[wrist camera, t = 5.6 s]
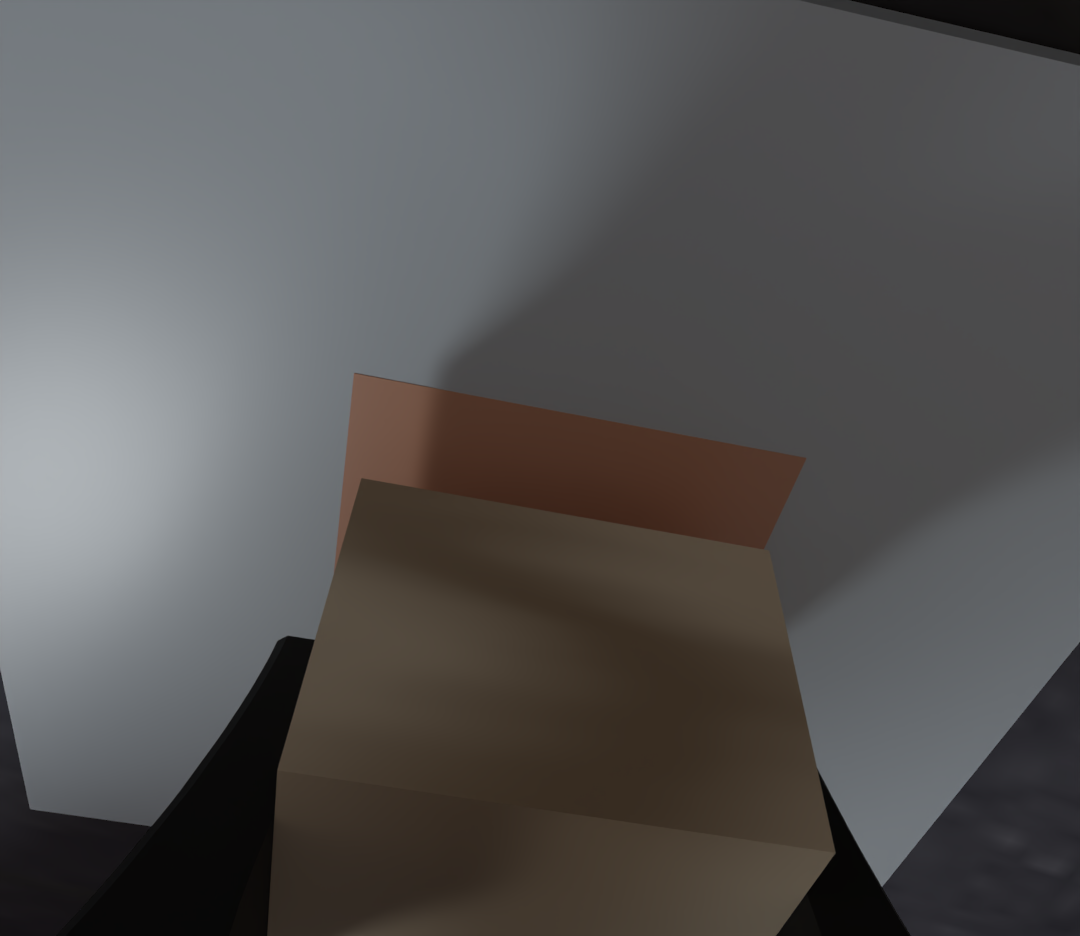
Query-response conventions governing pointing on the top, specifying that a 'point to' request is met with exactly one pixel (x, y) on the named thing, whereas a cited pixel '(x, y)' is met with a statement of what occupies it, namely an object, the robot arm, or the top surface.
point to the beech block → (543, 734)
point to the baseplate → (534, 345)
